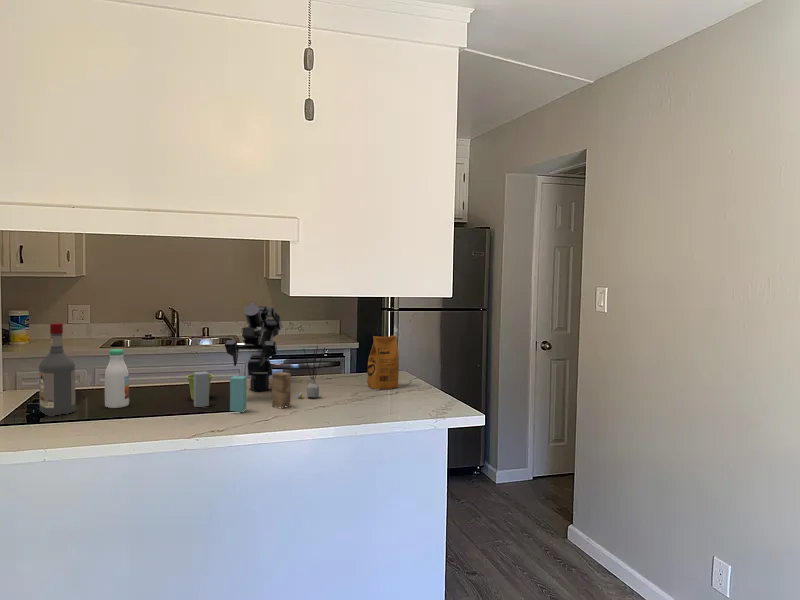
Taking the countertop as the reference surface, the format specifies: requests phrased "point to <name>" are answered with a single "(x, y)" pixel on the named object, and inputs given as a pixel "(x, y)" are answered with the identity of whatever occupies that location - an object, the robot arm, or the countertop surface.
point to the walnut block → (281, 389)
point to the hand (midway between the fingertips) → (247, 365)
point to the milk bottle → (116, 381)
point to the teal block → (238, 393)
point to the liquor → (57, 377)
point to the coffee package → (383, 363)
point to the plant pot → (191, 383)
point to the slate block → (201, 389)
